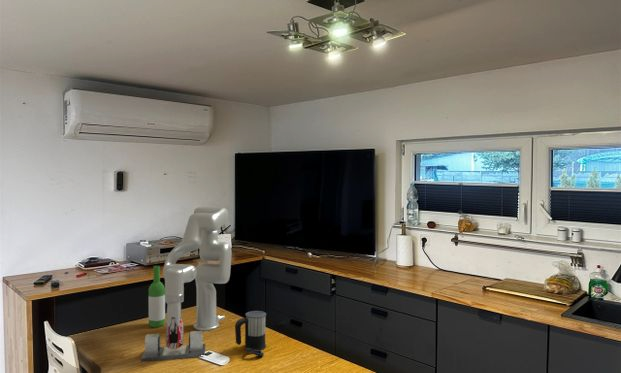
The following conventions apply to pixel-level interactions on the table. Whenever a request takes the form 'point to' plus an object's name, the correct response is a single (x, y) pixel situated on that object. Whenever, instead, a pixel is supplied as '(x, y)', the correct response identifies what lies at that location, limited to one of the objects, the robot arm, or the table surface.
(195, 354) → the rail
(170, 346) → the soda can
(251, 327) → the milk frother
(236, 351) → the table surface
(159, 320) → the wine bottle
